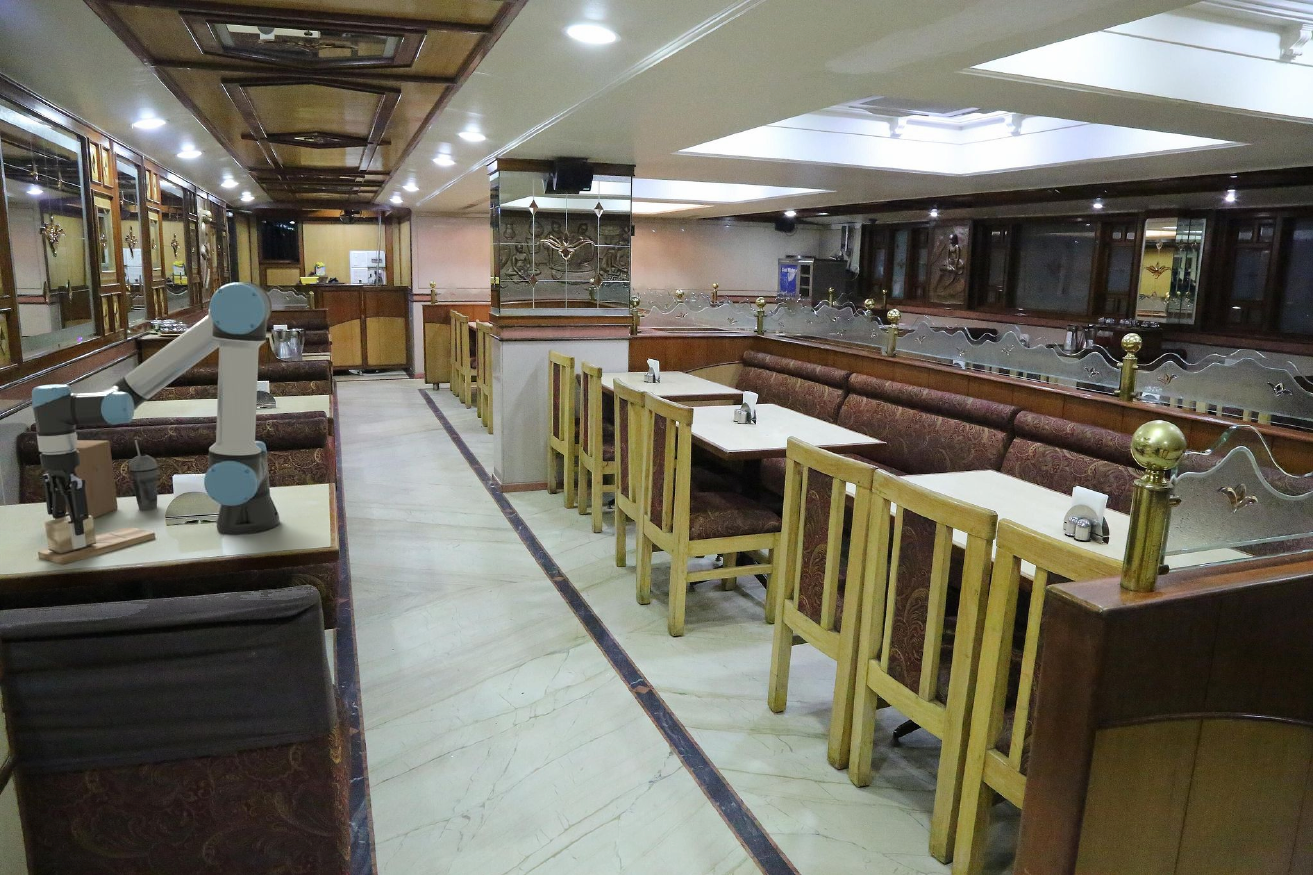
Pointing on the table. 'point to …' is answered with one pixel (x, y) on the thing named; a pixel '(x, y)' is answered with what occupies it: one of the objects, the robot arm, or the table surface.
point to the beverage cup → (144, 480)
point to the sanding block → (67, 534)
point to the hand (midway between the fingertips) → (72, 545)
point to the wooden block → (97, 476)
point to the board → (100, 545)
